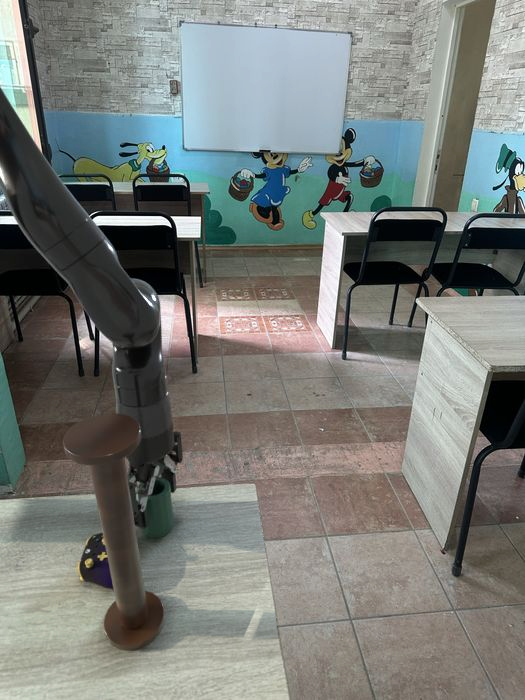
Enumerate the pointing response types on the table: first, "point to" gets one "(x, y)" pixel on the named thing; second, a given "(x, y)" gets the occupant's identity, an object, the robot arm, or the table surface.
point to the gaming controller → (95, 563)
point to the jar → (159, 509)
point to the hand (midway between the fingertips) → (156, 507)
